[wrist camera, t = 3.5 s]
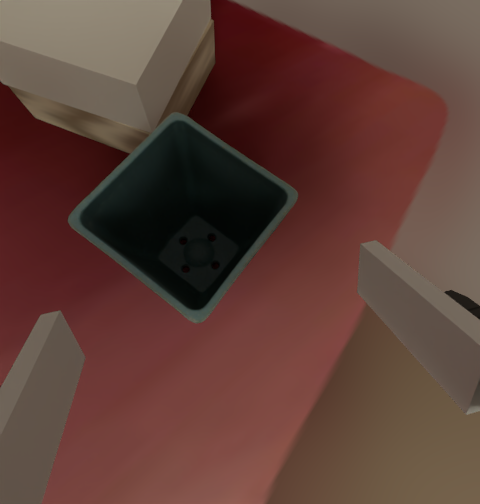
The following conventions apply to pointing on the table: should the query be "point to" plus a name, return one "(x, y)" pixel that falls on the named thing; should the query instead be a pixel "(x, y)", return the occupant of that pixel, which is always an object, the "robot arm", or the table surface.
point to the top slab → (101, 53)
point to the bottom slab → (118, 132)
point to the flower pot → (184, 214)
